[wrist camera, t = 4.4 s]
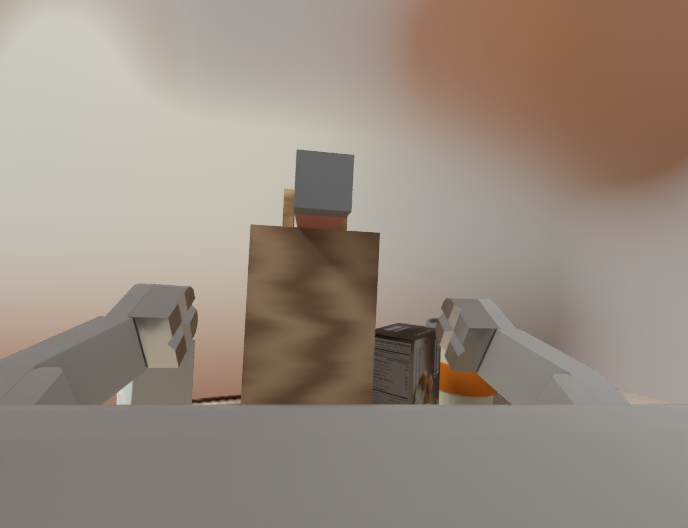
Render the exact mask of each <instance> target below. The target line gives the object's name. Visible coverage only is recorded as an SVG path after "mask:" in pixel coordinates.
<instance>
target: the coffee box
mask: <svg viewBox="0 0 688 528" xmlns="http://www.w3.org/2000/svg"><path fill="white" fill-rule="evenodd" d="M440 358H441V347H440V346H439V344H438V341H437V338H436V328H431V327H424V326H417V325H409V324H402V323H397V324H393V325H389V326H385V327H382V328H378V329H375V346H374V368H373V389H372V404H407V405H439V385H440Z"/></svg>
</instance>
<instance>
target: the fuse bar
mask: <svg viewBox="0 0 688 528" xmlns="http://www.w3.org/2000/svg"><path fill="white" fill-rule="evenodd" d="M353 166H354V155H348V154H338V153H326V152H316V151H307V150H297V156H296V175H295V194H294V211H295V217H296V222H297V228H312V229H327V230H337V228H338V227H339V226H340V225H341V224H342V222H343V221H344V220H345V219H346V217H347V216H348V215H349V214H350V213H351V208H352V187H353Z"/></svg>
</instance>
